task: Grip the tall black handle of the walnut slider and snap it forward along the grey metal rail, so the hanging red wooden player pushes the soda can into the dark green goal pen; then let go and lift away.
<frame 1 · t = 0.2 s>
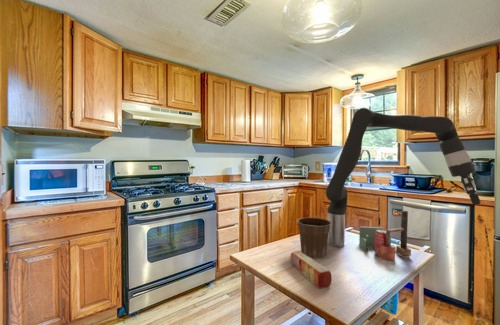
hand: (476, 202, 91), 31 cm above the kitchen island, tool tilted 20°, fingers open, 8 cm apart
soda can: (382, 255, 116), on the kitchen island
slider: (394, 234, 114), point 11 cm above the kitchen island, slide at 0.0 cm
snack package: (308, 275, 95), on the kitchen island
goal: (374, 248, 124), on the kitchen island
rail: (397, 252, 120), on the kitchen island
plant pot: (313, 253, 117), on the kitchen island
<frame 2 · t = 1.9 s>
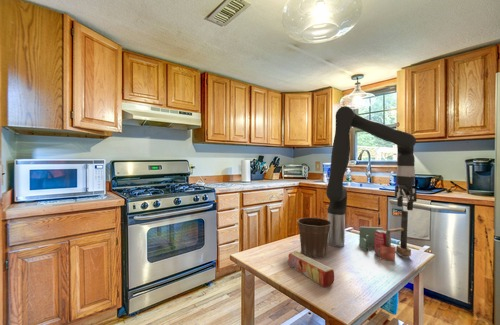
hand: (404, 208, 115), 24 cm above the kitchen island, tool pointing down, fingers open, 8 cm apart
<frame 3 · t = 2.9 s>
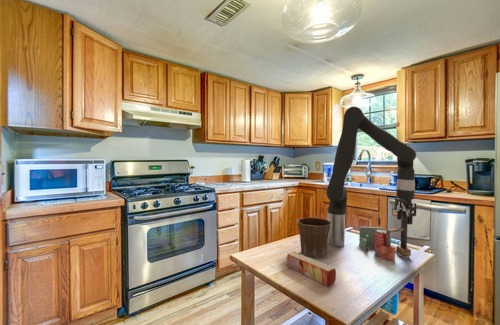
hand: (404, 221, 115), 17 cm above the kitchen island, tool pointing down, fingers open, 8 cm apart
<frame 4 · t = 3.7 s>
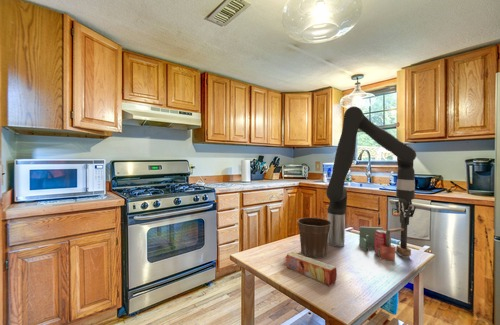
hand: (404, 223, 115), 16 cm above the kitchen island, tool pointing down, fingers closed on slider, 2 cm apart
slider: (394, 234, 114), point 11 cm above the kitchen island, slide at 0.0 cm, touching gripper
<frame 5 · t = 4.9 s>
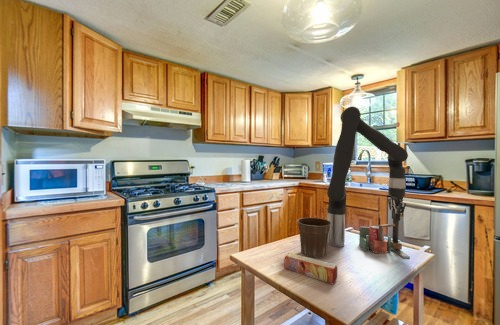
hand: (395, 219, 123), 16 cm above the kitchen island, tool pointing down, fingers closed on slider, 2 cm apart
soda can: (375, 249, 123), on the kitchen island, touching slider
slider: (386, 229, 122), point 11 cm above the kitchen island, slide at 7.7 cm, touching gripper, soda can
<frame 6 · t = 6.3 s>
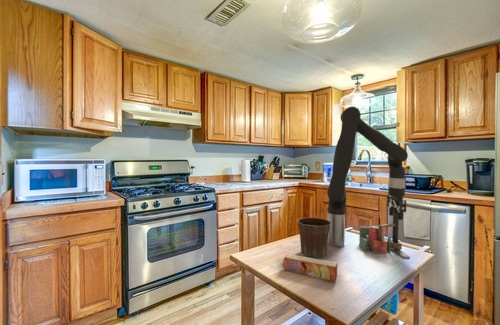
hand: (395, 217, 123), 17 cm above the kitchen island, tool pointing down, fingers open, 8 cm apart
soda can: (375, 249, 124), on the kitchen island
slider: (386, 229, 122), point 11 cm above the kitchen island, slide at 7.8 cm
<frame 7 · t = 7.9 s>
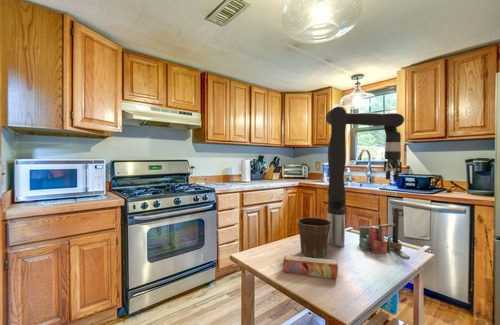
hand: (391, 180, 130), 36 cm above the kitchen island, tool pointing down, fingers open, 8 cm apart
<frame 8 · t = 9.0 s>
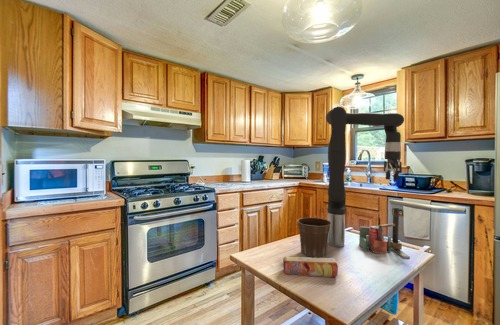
hand: (391, 180, 130), 36 cm above the kitchen island, tool pointing down, fingers open, 8 cm apart
at the end: soda can inside the target area (1.2 cm from its centre), on the kitchen island; soda can tilted 0°; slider slide at 7.8 cm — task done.
